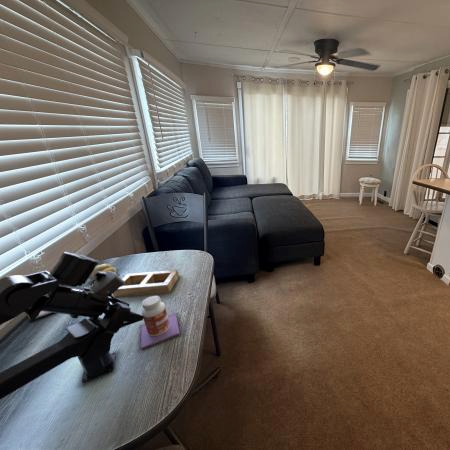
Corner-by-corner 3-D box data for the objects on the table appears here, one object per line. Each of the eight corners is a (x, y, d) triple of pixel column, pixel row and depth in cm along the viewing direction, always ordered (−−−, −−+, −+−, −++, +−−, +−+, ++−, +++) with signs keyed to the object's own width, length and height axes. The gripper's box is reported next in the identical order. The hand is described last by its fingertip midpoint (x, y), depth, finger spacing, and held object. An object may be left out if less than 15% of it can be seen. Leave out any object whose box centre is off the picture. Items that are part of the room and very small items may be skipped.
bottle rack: (169, 292, 94) (167, 284, 93) (113, 297, 92) (111, 289, 91) (179, 276, 104) (177, 269, 103) (129, 280, 102) (127, 273, 101)
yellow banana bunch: (109, 256, 111) (113, 266, 100) (116, 266, 114) (120, 278, 103) (83, 266, 105) (84, 278, 95) (90, 277, 108) (92, 290, 97)
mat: (179, 334, 74) (179, 332, 74) (141, 348, 69) (141, 347, 69) (175, 315, 82) (175, 313, 82) (141, 327, 77) (141, 325, 77)
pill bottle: (161, 338, 72) (152, 308, 68) (143, 336, 73) (133, 306, 69) (174, 323, 78) (167, 294, 74) (157, 321, 78) (149, 293, 75)
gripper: (108, 281, 53) (168, 296, 66) (81, 259, 63) (137, 275, 76) (75, 331, 50) (144, 337, 62) (52, 299, 60) (115, 310, 72)
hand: (135, 311), depth 68 cm, fingers open, 9 cm apart
